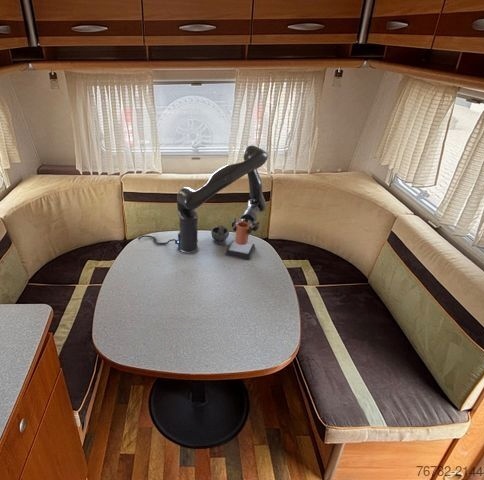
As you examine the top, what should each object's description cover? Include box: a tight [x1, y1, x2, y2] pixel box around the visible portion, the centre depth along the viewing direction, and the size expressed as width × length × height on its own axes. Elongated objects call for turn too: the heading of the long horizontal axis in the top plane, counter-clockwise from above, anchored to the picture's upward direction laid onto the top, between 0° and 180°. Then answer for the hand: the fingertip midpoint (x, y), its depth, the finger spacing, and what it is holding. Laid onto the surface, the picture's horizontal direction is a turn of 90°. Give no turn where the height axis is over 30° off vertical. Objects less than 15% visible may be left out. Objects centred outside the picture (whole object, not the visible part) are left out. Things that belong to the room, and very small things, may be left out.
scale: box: [225, 239, 256, 261], centre depth 185 cm, size 12×12×3 cm
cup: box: [234, 222, 250, 245], centre depth 180 cm, size 6×6×10 cm
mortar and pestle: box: [210, 225, 230, 245], centre depth 191 cm, size 11×9×12 cm
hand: (241, 230), depth 177 cm, fingers closed on cup, 6 cm apart
